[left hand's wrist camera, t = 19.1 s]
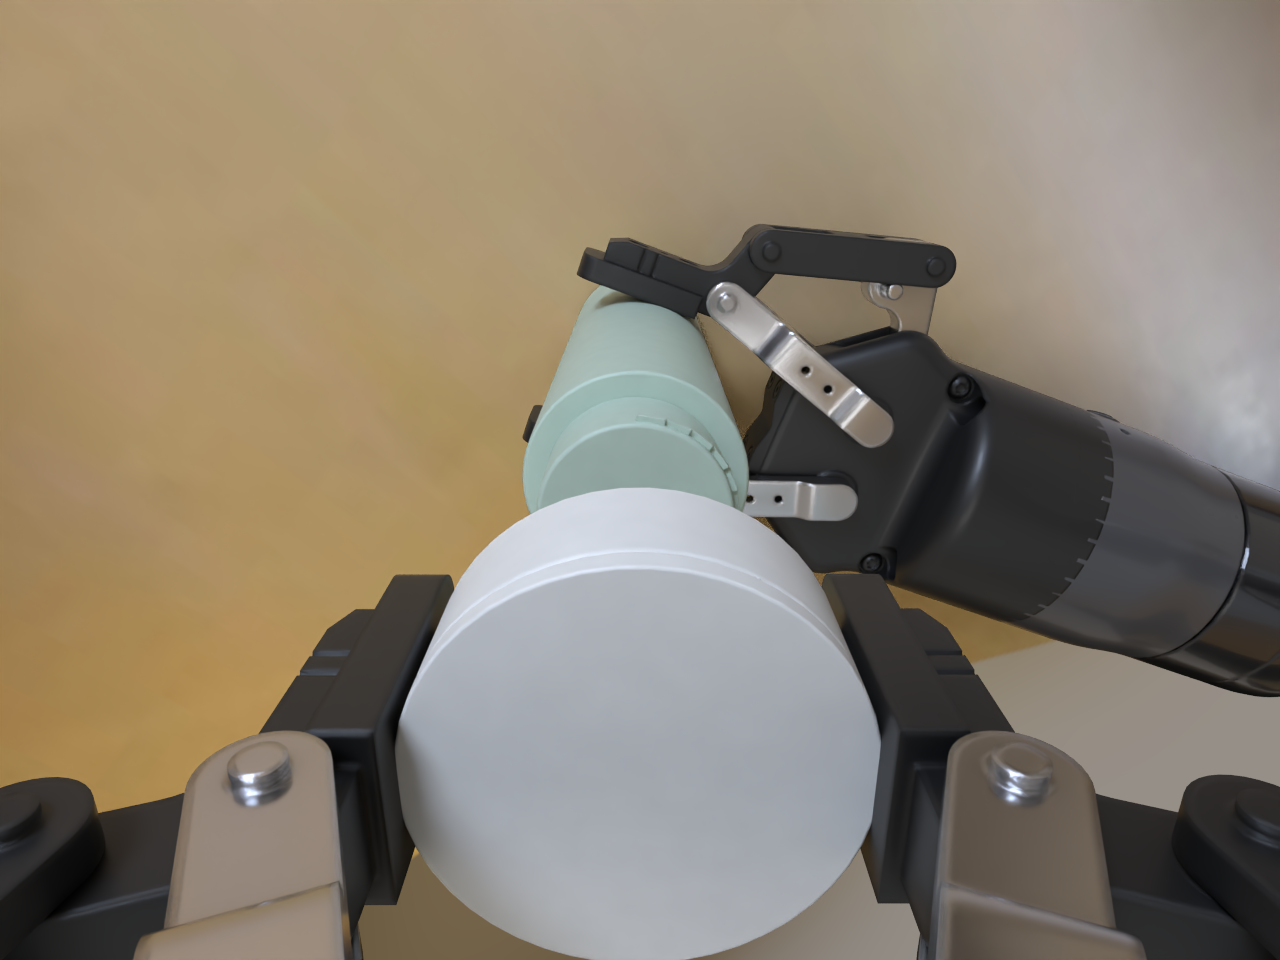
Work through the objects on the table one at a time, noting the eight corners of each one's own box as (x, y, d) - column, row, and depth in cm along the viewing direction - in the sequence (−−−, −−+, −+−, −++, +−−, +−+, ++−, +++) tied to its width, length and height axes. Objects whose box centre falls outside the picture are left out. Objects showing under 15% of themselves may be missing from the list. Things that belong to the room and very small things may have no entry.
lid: (384, 530, 10) (322, 621, 8) (808, 445, 10) (851, 518, 8) (498, 856, 12) (471, 995, 10) (862, 794, 12) (907, 926, 10)
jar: (687, 403, 33) (736, 644, 17) (568, 386, 33) (497, 613, 16) (708, 283, 32) (786, 416, 15) (584, 264, 32) (521, 377, 15)
